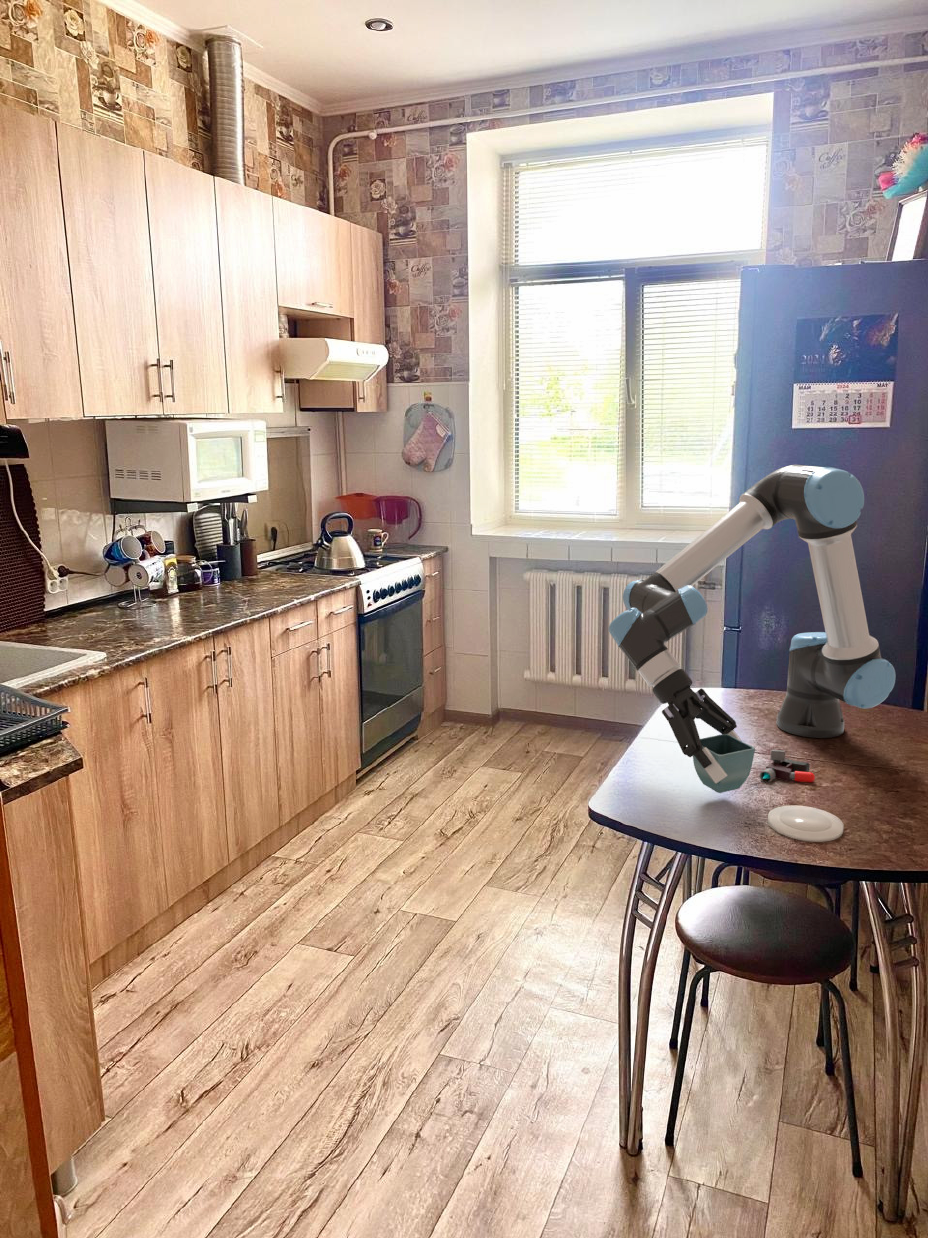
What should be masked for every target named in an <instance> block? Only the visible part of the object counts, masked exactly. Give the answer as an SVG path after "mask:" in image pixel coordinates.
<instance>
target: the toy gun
mask: <svg viewBox="0 0 928 1238" xmlns="http://www.w3.org/2000/svg"><path fill="white" fill-rule="evenodd" d="M770 761H772V762H771V763H769V764H768V765H767V766H766V768H765V769H764V770H763V771H761V772H760V773H759V779H760V780H761V781H764V780H765V779H766V780H768V781H767V782H768V783H770V782H771V781H773V780H775V779H777V780H778V779H779V780H781V781H784V782H785V781H786V782H790V781H791V780H793V781H795V782H800V783H801V782H802V783H813V782H815V779H816V776H815V774H814V772H810V767H811V766H810V763H809V762H804V761H798V760H793V759H789V758H787V757H786V750H779V749H771V750H770Z"/></svg>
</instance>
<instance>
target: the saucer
mask: <svg viewBox="0 0 928 1238" xmlns="http://www.w3.org/2000/svg"><path fill="white" fill-rule="evenodd" d="M842 821H843V820H841V819H840V818H839V817H837V816H836V815H835V814H832V813H831V812H828V811H826V810H823V809H821V808H820V809H819V808H817V807H816V808H815V807H811V806H806V805H793V804H791V805H783V806H778V807H775V808H773V809H771V810H770V811H769V812H768V815H767V823H768V825H769V827H770V828H771V829H772V830H773V831H775V832H776V833H779V834H780V835H782V836H785V837H788V838H791V839H794V840H798V841H803V842H810V843H811V842H816V843H823V842H831V841H834V840H837V839H839V838H840V837H841V836H843V833H844V823H843V822H842Z"/></svg>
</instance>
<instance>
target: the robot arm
mask: <svg viewBox="0 0 928 1238" xmlns="http://www.w3.org/2000/svg"><path fill="white" fill-rule="evenodd" d="M864 493H865V492H864V489H863V486H862V484H861V482H860V481H859V480H858V478H857V477H856V476H855V475H853V474H852V473H850V472H849V471H846V470H844V469H840V468H838V467H833V466H815V465H806V464H799V463H798V464H791V465H787V466H783V467H781V468H778V469H776V470H774V471H772V472H771V473H769V474H767V476H764V477H763V478H761V480H759V481H757V482H755V484H753V485H752V486H751V487H750V488H748V489H747V490H746V491H745V492H743V493H741V495H740V496H739V503H738V504H736V505H735V506H734V507H733V508H731V509H730V510H729V511H728V512H727V513H725V514H724V515H723V516H721V517H720V518H719V519H718V520H717V521H716V522H714V523H713V524H712V525H711V526H709V527H708V528H707V529H705V530H704V531H703V532H702V533H701V534H700V535H699V536H697V537H696V538H694V540H693V541H691V542H690V543H689V544H688V545H687V546H685V547H684V548H683V549H682V550H680V551H679V552H678V553H676V555H674V556H673V557H671V558H670V559H669V560H668V561H667V562H666V563H664V564H663V565H662V566H661V567H659V568H658V569H657V570H656V571H655V572H654V573H653V574H651V575H649V576H648V577H647V578H646V579H637V580H633V581H631V582H630V583H628V584H627V585H626V587H625V589H624V590H623V593H622V601H623V604H624V606H625V608H626V609H627V610H625V611H623V612H622V613H620V614H619V615H617V616H616V617H615V618H614V619H613V620H612V621H611V622H610V624H609V626H608V632H609V634H610V636H611V637H612V639H613V641H615V643H616V644H617V647H618V648H619V649H620V650H621V651H622V653H623V654H624V655H625V657H626V658H627V659H628V660H629V662H630V663H631V664H632V665H633V667H634V668H635V670H636V671H637V672H638V673H639V675H640V676H641V677H642V680H644V681H645V683H646V685H647V686H648V687H651V688H652V687H653V688H652V689H651V690H652V693H653V694H654V696H655V697H656V699H657V700H658V701H659V702H660V704H662V705H665V704H668V706H666V707H665V708H664V709H662V710H661V713H662V715H663V716H664V717H665V720H667V722H668V723H669V726H670V729H671V730H672V732H673V734H674V737H675V739H676V742H677V743H678V745H679V747H680V749H681V752H682V754H683V755H685V756H687V757H689V758H693V755H694V756H695V757H696V758H697V760H698V761H699V762H700V764H701V765H702V767H703V768H704V769H705V770H706V771H707V773H708V774H709V775H710V777H711V778H712V779H713V781H714V782H715V783H718V782H719V781H720V780H722V779H723V778H725V777H726V776H727V774H726V773H725V772H724V770H723V769H722V768H721V766H720V765H719V764H718V762H717V761H716V759H715V758H714V757H713V755H712V754H711V753H710V751H709V750H708V749H707V747H705V748H703V747H702V744H701V741H700V739H701V737H700V735H699V732H698V728H697V724H696V722H695V719H697V720H699V719H700V720H701V721H702V722H704V723H706V725H708V726H710V727H711V728H712V729H714V730H715V731H717V733H720V735H722V734H728V735H730V736H732V737H734V738H736V739H738V740H740V741H742V740H741V738H740V737H739V735H738V734H737V733H736V732H735V729H736V728H737V727H738V726H737V725H738V724H737V722H736V720H735V719H734V718H733V717H732V716H730V714H729V713H727V712H726V711H725V710H724V709H723V708H722V707H720V706H719V704H718V703H716V702H715V701H714V700H713V699H712V698H711V697H710V696H709V695H708V693H707V692H706V691H705V689H703V688H701V687H700V688H699V689H698V690H697V691H696V692H695V691H694V690H693V689H692V688H691V686H692V685H693V680H692V679H691V677H690V676H689V675H688V674H687V672H686V671H685V670H684V669H682V668H680V665H681V664H680V663H679V661H678V660H677V659H676V657H675V656H674V655H673V653H672V652H671V651H670V650H669V649H668V646H666V645H665V644H667V643H668V642H669V641H670V640H672V639H673V638H675V637H676V636H678V635H680V634H681V633H683V632H684V631H686V630H687V629H689V628H691V627H693V626H695V625H696V624H697V623H698V622H699V621H700V620H702V619H703V618H705V617H706V615H707V614H708V612H709V611H708V608H709V607H708V605H707V602H706V600H705V597H704V596H703V595H702V593H701V592H700V591H699V590H698V588H696V587H694V585H695V584H697V583H698V582H699V581H701V580H702V579H703V578H704V577H706V576H707V575H708V574H709V573H710V572H711V571H713V570H714V569H715V568H716V567H717V566H719V565H720V564H721V563H723V562H724V561H725V560H726V559H727V558H729V557H730V556H731V555H733V553H734V552H736V551H737V550H738V549H740V548H741V547H742V546H744V544H746V543H747V542H748V541H750V539H751V538H753V537H755V536H756V534H758V533H759V532H760V531H762V530H770V529H771V528H772V527H774V526H775V525H776V524H777V523H779V522H783V521H785V520H788V519H789V520H795V525H796V529H797V535H798V538H799V539H801V540H802V541H804V542H805V543H807V545H808V551H809V555H810V556H809V557H810V561H811V565H812V571H813V577H814V581H815V585H816V591H817V595H818V596H817V597H818V600H819V605H820V612H821V615H822V617H821V618H822V621H823V627H824V631H825V632H824V631H815V632H814V631H813V632H811V631H810V632H801V633H797V634H795V635H793V637H792V638H791V640H790V641H791V642H790V646H789V650H788V652H789V657H788V670H787V686H786V693H785V696H784V700H782V705H781V707H780V710H779V711H778V713H777V715H776V723H775V725H776V726H777V728H779V729H780V730H782V731H784V732H786V733H789V734H792V735H796V736H800V737H804V738H814V739H817V738H818V739H828V738H829V739H830V738H835V737H839V736H841V735H842V734H844V732H845V731H844V730H845V719H844V716H843V711H842V707H841V704H840V701H842V702H844V703H846V705H847V704H848V705H849V706H852V707H853V706H854V707H856V708H859V709H872V708H874V707H877V706H878V705H880V704H881V703H883V702H884V701H885V700H886V699H887V698H888V697H889V696H890V693H891V692H892V691H893V689H894V687H895V684H896V676H897V675H896V670H895V667H894V666H893V664H891V662H889V660H887V659H885V658H882V656H881V650H880V649H881V648H880V645H879V641H878V639H876V637H874V636H872V635H870V632H869V627H868V621H867V616H866V609H865V605H864V599H863V595H862V589H861V588H862V587H861V582H860V577H859V573H858V567H857V562H856V555H855V549H854V545H853V540H852V533H854V531H855V530H856V528H857V527H858V521H857V520H858V519H859V518H860V516H861V515H862V512H861V510H862V509H864V505H865V494H864ZM702 748H703V749H702ZM754 757H755V756H754ZM754 757H753V759H754Z"/></svg>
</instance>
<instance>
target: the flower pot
mask: <svg viewBox="0 0 928 1238" xmlns="http://www.w3.org/2000/svg"><path fill="white" fill-rule="evenodd" d="M700 741H701V744H702V747H703V748H705V747H707V749H708V750H709V751H710V753H711V754H712V755H713V757H714V758H715V759H716V761H717V762H718V764H719V765H720V766H721V768H722V769H723V770H724V772H725V773H726V774H727V776H726V777H725V778H723V779H722V780H720V781H719V782H718V783H715V782H714V781H713V779H712V778H711V777H710V775H709V774H708V773H707V771H706V770H705V769H704V768H703V767H702V765H701V764H700V762H699V761H698V760H697V758H696V757H695V756H694V755H693V756H692V760H693V766H694V767H693V768H694V770H695V772H696V774H697V777H698V778H699V780H700V781H701V782H702V785H704V786H706V787H707V788H709V789H710V790H712V791H714V792H715V793H718V794H722V793H726V792H730V791H736V790H739V789H740V788H741V787H742V786H743V785H744V784H745V782H746V781H747V780H748V778H749V775H750V773H751V770H752V767H753V761H754V758H753V757H755V751H756V747H754V746H752V745H751V744H748V743H746V742H744V741H743V740H741V741H740V740H738V739H736V738H734V737H732V736H730V735H728V734H718V735H712V736H707V737H703V738H700ZM703 748H702V749H703Z"/></svg>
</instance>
